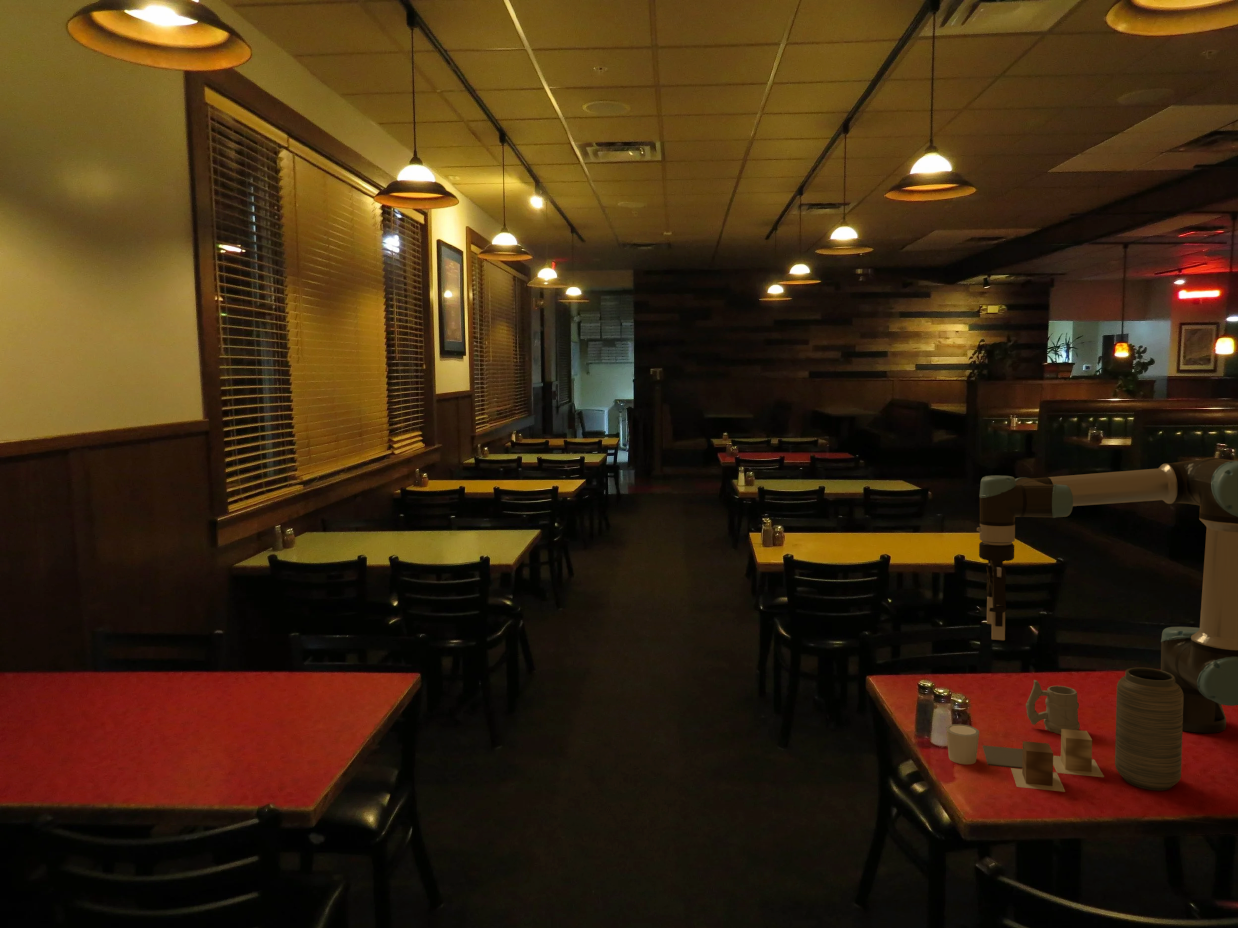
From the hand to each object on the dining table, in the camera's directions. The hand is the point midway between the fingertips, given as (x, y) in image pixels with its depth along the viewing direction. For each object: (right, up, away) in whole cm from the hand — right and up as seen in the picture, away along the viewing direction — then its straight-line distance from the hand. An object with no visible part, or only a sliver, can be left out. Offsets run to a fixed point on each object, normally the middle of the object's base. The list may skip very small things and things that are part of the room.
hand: (995, 631), depth 200 cm
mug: (+15, -25, +4) cm, 29 cm away
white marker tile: (-1, -27, -22) cm, 35 cm away
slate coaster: (-2, -26, -11) cm, 29 cm away
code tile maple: (+10, -26, -16) cm, 32 cm away
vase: (+21, -27, -24) cm, 41 cm away
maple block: (+10, -26, -16) cm, 32 cm away
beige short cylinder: (-12, -27, -11) cm, 31 cm away
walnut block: (-1, -27, -22) cm, 35 cm away
